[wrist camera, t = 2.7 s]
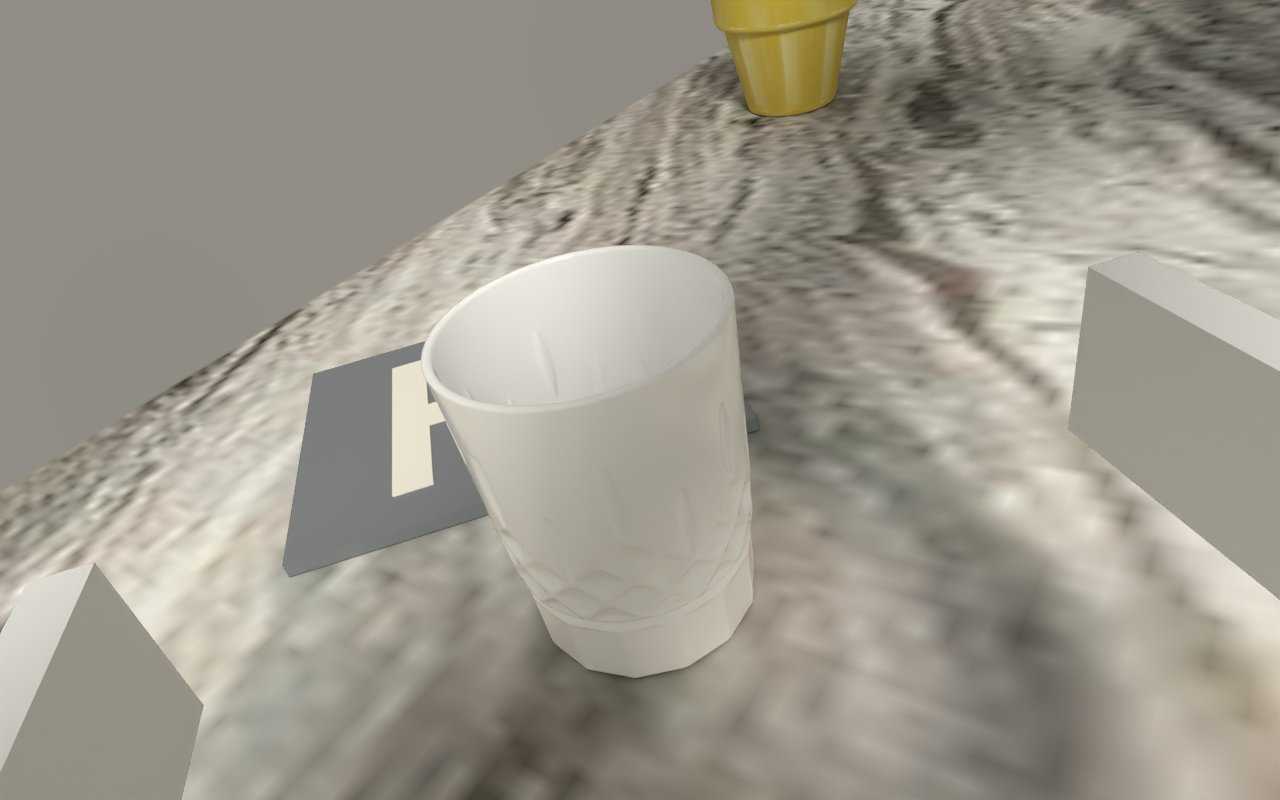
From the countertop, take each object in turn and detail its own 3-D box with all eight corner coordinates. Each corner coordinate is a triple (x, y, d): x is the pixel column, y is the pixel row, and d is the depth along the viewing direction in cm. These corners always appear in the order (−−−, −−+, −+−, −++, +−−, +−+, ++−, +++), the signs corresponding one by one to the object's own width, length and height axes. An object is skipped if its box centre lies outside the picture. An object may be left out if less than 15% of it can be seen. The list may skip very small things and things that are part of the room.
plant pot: (874, 110, 59) (869, -43, 54) (728, 135, 61) (709, -11, 55) (851, 72, 68) (844, -63, 62) (723, 96, 69) (706, -34, 64)
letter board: (661, 283, 43) (659, 271, 43) (758, 429, 32) (757, 414, 31) (318, 383, 42) (312, 372, 41) (289, 577, 30) (281, 563, 30)
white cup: (479, 611, 27) (362, 351, 21) (648, 475, 31) (588, 225, 25) (650, 751, 22) (555, 455, 16) (827, 566, 26) (800, 276, 20)
